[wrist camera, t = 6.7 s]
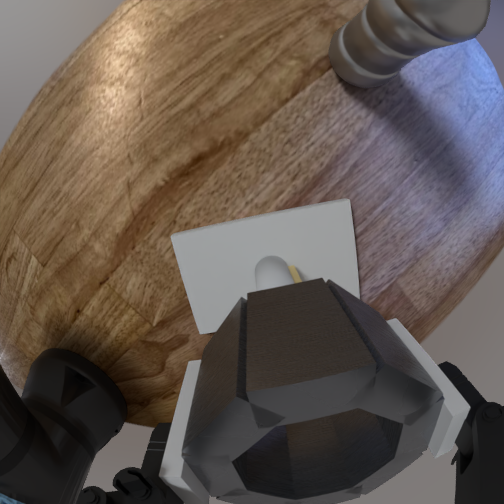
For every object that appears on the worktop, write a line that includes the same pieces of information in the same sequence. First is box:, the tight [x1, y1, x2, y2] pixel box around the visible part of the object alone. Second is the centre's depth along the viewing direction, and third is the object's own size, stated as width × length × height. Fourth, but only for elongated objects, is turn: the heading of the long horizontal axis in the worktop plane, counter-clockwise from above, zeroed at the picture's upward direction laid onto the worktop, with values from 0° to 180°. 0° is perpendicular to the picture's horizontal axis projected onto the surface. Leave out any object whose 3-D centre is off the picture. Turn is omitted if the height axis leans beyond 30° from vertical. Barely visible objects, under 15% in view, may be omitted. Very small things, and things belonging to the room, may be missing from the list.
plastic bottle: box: [329, 0, 491, 88], centre depth 12 cm, size 6×7×20 cm
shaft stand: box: [171, 199, 360, 334], centre depth 24 cm, size 16×10×8 cm, turn 102°
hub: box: [181, 278, 445, 504], centre depth 10 cm, size 8×8×6 cm
